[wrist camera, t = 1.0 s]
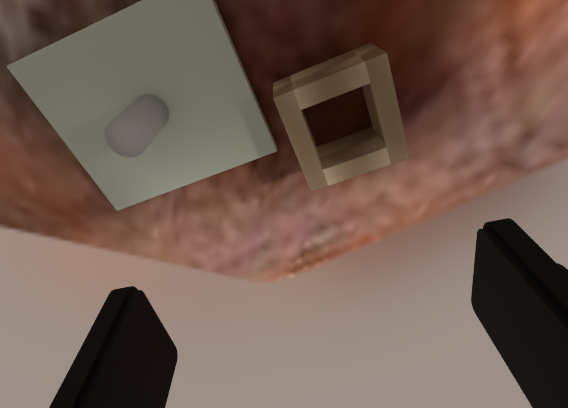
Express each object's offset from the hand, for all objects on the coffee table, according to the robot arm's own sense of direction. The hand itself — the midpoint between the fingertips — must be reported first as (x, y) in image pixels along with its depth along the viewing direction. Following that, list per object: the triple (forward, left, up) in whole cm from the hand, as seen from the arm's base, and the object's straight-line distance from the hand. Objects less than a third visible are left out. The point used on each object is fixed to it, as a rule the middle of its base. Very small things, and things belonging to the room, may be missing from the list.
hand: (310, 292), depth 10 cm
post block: (+9, -3, -18) cm, 21 cm away
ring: (-3, +2, -18) cm, 19 cm away
